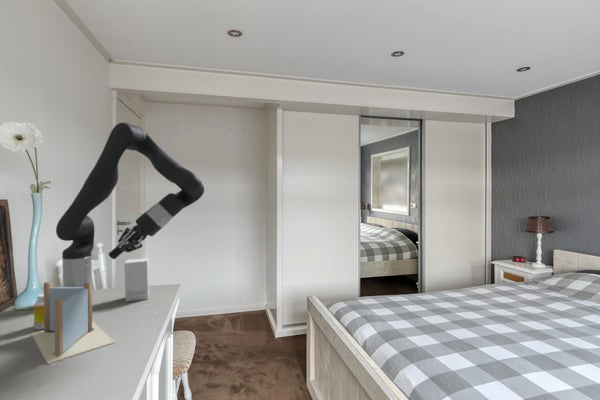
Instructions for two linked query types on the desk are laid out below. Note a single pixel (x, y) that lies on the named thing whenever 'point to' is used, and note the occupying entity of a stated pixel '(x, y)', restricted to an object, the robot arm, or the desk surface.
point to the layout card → (82, 345)
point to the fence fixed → (63, 293)
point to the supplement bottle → (39, 312)
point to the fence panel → (70, 320)
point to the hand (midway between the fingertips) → (110, 256)
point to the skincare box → (136, 279)
